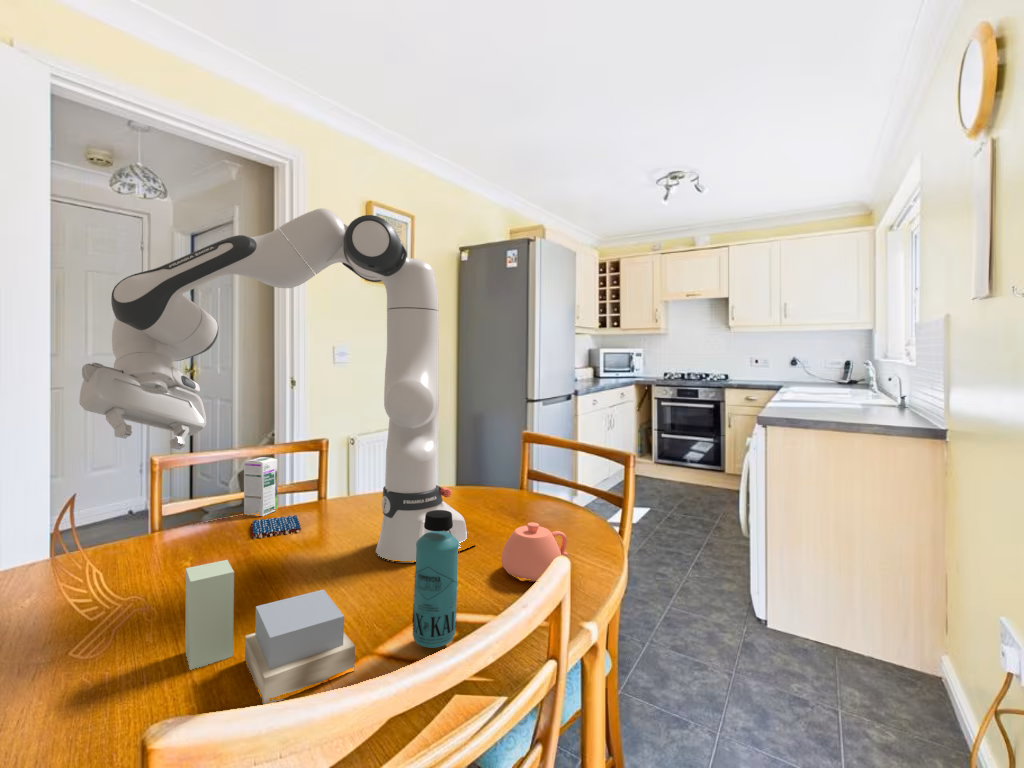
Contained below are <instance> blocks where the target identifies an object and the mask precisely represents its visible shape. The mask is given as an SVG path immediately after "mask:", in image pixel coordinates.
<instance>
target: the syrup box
mask: <svg viewBox="0 0 1024 768" xmlns="http://www.w3.org/2000/svg"><path fill="white" fill-rule="evenodd" d="M273 509H277V510H278V458H275V457H267V456H264V457H263V456H262V457H261V456H259V457H257V458H256V457H255V458H253V459H248V460H245V461H244V462H243V512H244V513H243V514H244V515H245V516H247V515H246V514H250V515H255V514H259V516H263V517H265V516H267V515H269V514H271V513H274V512H277V511H276V510H273ZM267 510H268V511H267ZM270 510H271V511H270ZM258 512H259V513H258ZM252 513H255V514H252Z"/></svg>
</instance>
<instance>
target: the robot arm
mask: <svg viewBox="0 0 1024 768" xmlns="http://www.w3.org/2000/svg"><path fill="white" fill-rule="evenodd" d="M338 263H342V265H344V266H345V268H347V269H348V270H350V272H351V271H352V272H353V273H354V274H355V275H357V276H358V277H360V278H361V279H363V280H365V281H368V282H372V283H379V282H380V283H381V282H382V283H383V285H384V287H385V292H386V356H385V368H384V370H385V371H384V388H383V389H384V393H383V406H384V410H385V414H386V415H387V416H388V419H389V421H388V431H387V439H386V440H387V441H386V449H385V473H384V474H385V479H384V480H385V481H384V486H383V487H382V500H381V503H382V504H381V505H382V523H381V530H380V534H379V538H378V543H377V545H376V547H375V548H376V549H375V554H376V553H377V554H378V555H377V554H376V555H377V556H378V557H379V556H380V557H379V558H381V557H382V558H381V559H383V558H385V559H389V560H397V561H398V560H399V561H412V560H413V561H415V560H416V542H417V541H418V539H419V538H420V537H422V536H423V535H424V534H425V533H427V532H431V531H430V530H427V529H425V528H424V523H425V515H426V513H427V512H429V511H433V510H446V511H449V512H451V513H452V522H453V527H452V528H451V529H449V530H446V531H445V532H449V533H451V534H452V535H453V536H454V537H455V538H456V539H457V540H458V542H459V543H461V542H463V541H465V540H466V539H467V532H468V531H467V525H466V521H465V518H464V516H463V515H462V514H461V513H460V512H458V511H457V510H455V509H454V508H453V507H451V505H449V504H448V503H446V502H445V501H444V500H443V497H444V498H446V499H447V498H451V495H452V493H453V492H452V490H451V489H450V488H448V487H446V486H443V487H441V486H439V485H437V469H438V468H437V466H438V464H437V463H438V439H439V438H438V436H439V435H438V433H439V408H440V407H439V406H440V405H439V404H440V394H439V355H440V354H439V349H440V348H439V345H440V344H439V343H440V341H439V336H440V335H439V334H440V333H439V328H440V325H439V324H440V322H439V319H440V315H439V311H440V309H439V293H438V286H437V279H436V274H435V270H434V269H433V267H432V266H431V264H429V263H428V262H426V261H424V260H422V259H419V258H412V257H408V250H407V249H406V247H405V245H404V244H403V242H402V240H401V238H400V237H399V235H398V233H397V231H396V230H395V228H394V227H393V226H392V225H391V224H390V222H388V221H387V220H385V219H384V218H383V217H381V216H378V215H372V214H365V215H361V216H359V217H357V218H355V219H353V220H351V222H350V223H349V224H348V225H347V224H346V223H344V221H343V220H342V219H341V217H339V216H338V215H337V214H336V213H335V212H333V211H332V210H329V209H327V208H316V209H313V210H311V211H308V212H306V213H304V214H302V215H300V216H297V217H295V218H293V219H291V220H289V221H287V222H285V223H284V224H282V225H281V226H279V227H277V228H276V229H274V230H272V231H270V232H268V233H265V234H262V235H257V236H247V235H242V234H241V235H233V236H230V237H227V238H224V239H221V240H219V241H216V242H214V243H212V244H209V245H207V246H204V247H201V248H200V249H198V250H194V251H193V252H191V253H188V254H186V255H184V256H182V257H179V258H177V259H174V260H172V261H170V262H168V263H165V264H164V265H161V266H158V267H156V268H153V269H148V270H144V271H141V272H138V273H134V274H131V275H129V276H127V277H124V278H123V279H122V280H120V281H119V282H118V283H117V284H115V286H114V287H113V289H112V291H111V297H110V298H111V303H110V304H111V308H112V311H113V314H114V317H115V320H114V322H113V325H112V332H111V347H112V352H113V355H114V357H115V359H114V362H113V367H110V366H106V365H104V364H101V363H99V362H92V363H85V364H84V365H83V366H82V368H81V376H82V377H81V378H82V379H83V381H82V384H81V387H80V391H79V401H78V402H79V405H80V406H81V408H82V409H83V410H84V411H85V412H86V411H87V412H91V413H93V414H98V415H102V416H105V420H106V421H107V423H108V424H109V425H110V427H112V429H113V430H114V437H116V438H119V439H125V440H126V439H128V438H129V437H130V436H132V434H133V432H132V429H133V428H132V425H130V424H127V423H126V421H128V422H132V423H135V424H136V423H137V424H141V425H144V426H149V427H152V428H158V429H162V430H166V431H169V432H173V435H174V438H172V439H170V440H169V444H170V449H174V450H178V451H179V450H182V449H183V448H184V447H186V446H185V445H186V437H187V436H190V437H191V436H194V435H196V434H197V433H199V432H200V431H202V430H203V429H204V428H205V427H206V425H207V416H206V410H205V406H204V402H203V400H202V399H201V397H200V396H199V395H198V394H199V393H200V391H201V388H200V385H199V384H198V383H197V382H196V381H194V380H192V379H191V378H189V377H188V376H186V375H185V374H183V373H182V371H179V370H178V369H177V368H176V367H174V365H173V362H179V361H183V360H188V359H190V358H193V357H196V356H198V355H202V354H203V353H205V352H207V351H209V350H210V349H211V348H212V347H213V346H214V344H215V342H216V341H217V338H218V335H219V323H218V321H217V319H216V318H215V317H213V316H212V315H211V314H210V313H209V312H208V311H206V310H205V309H203V308H202V307H201V306H200V305H198V304H197V303H195V302H193V301H192V300H191V299H190V298H188V297H187V296H186V295H185V293H188V292H189V291H192V290H193V289H196V288H198V287H201V286H202V285H204V284H207V283H208V282H211V281H213V280H215V279H217V278H221V277H223V276H227V275H228V276H229V275H236V276H237V275H239V276H242V277H243V276H244V277H245V278H246V277H247V278H251V279H253V280H256V281H258V282H260V283H263V284H264V285H268V286H270V287H274V288H279V289H292V288H295V287H298V286H300V285H302V284H305V283H306V282H308V281H309V280H311V279H312V278H313V277H315V276H316V275H317V274H319V273H320V272H322V271H324V270H325V269H327V268H329V267H330V266H331V265H333V264H338ZM459 545H460V544H459ZM460 546H461V545H460ZM460 546H459V547H458V549H459V548H461V547H460ZM385 559H384V560H385ZM389 560H388V561H389Z"/></svg>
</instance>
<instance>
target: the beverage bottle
mask: <svg viewBox="0 0 1024 768" xmlns="http://www.w3.org/2000/svg"><path fill="white" fill-rule="evenodd" d="M452 527H453V522H452V513H451V512H449V511H446V510H433V511H429V512H427V513H426V515H425V523H424V528H425V529H427V530H430V531H431V532H427V533H425V534H424V535H423V536H422V537H420V538H419V539H418V541H417V542H416V563H415V570H414V573H413V575H414V585H413V595H412V596H413V599H412V602H413V604H412V620H411V621H412V625H411V627H412V631H411V633H412V637H413V641H414V642H415V643H416V644H417V645H419V646H421V647H424V648H431V649H432V648H433V649H434V648H441V647H444V646H446V645H448V644H450V643H451V642H452V641H453V640H454V637H455V634H456V631H457V623H458V622H457V620H458V616H457V602H458V594H459V592H458V585H459V583H458V570H459V569H458V566H459V553H458V547H459V542H458V540H457V539H456V538H455V537H454V536H453V535H452V534H451V533H449V532H445V531H446V530H449V529H451V528H452Z"/></svg>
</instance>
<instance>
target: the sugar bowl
mask: <svg viewBox="0 0 1024 768" xmlns="http://www.w3.org/2000/svg"><path fill="white" fill-rule="evenodd" d="M557 536H561V545H560V546H559V544H558V542H557V540H556V538H555V537H557ZM567 542H568V539H567V535H566V534H565V533H564V532H562V531H560V530H555V531H552V532H551V531H550V529H548V528H546V527H543V526H540V524H539V522H538V523H537V522H527V524H526V525H523V526H522V525H521V526H519V527H517V528H515V529H514V531H513V532H512V533H511V534H510V536H509V538H508V539H507V541H506V542H505V545H504V546H503V550H502V554H501V560H500V561H501V565H502V567H503V568H504V570H505V571H506V572H507V574H509V575H510V574H511V575H513V576H515V577H519V578H526V579H531V580H532V581H531V582H537V581H536V580H537V579H538V578H539V577H540V575H541V574H542V573H543V572H544V571H545V569H546V568H547V567H548V566H549V565H550V563H551V562H552V561H553V559H554V558H556V557H557V556H560V555H563V556H564V557H565V556H568V557H570V556H569V554H568V552H567V551H565V550H566V548H567ZM511 575H510V576H511Z"/></svg>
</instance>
